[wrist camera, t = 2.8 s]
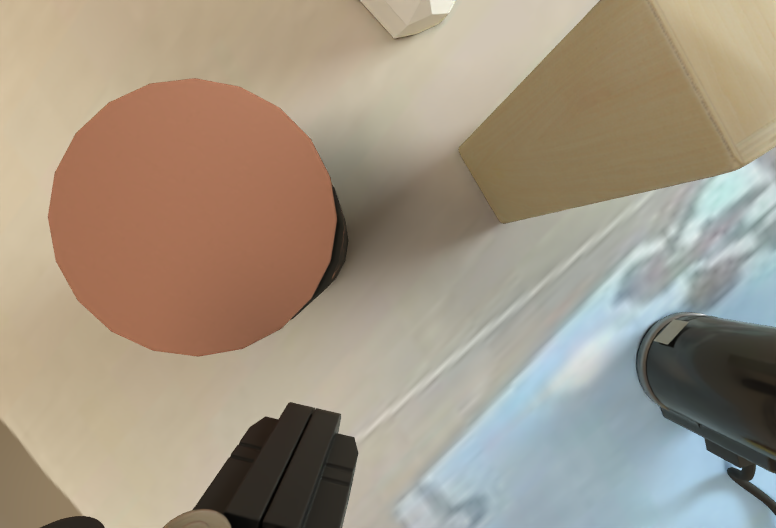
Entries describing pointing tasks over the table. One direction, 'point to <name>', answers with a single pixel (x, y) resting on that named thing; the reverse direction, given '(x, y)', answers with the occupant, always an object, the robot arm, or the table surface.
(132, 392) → the table surface
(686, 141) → the beige tall block
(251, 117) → the coffee jar
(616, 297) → the table surface
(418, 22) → the crystal
